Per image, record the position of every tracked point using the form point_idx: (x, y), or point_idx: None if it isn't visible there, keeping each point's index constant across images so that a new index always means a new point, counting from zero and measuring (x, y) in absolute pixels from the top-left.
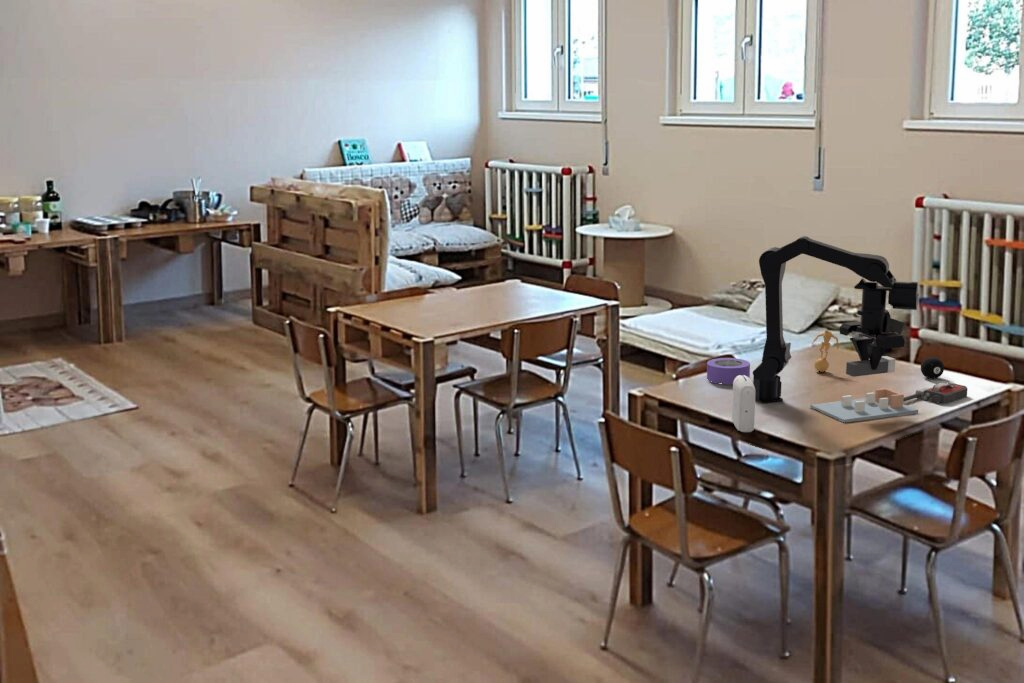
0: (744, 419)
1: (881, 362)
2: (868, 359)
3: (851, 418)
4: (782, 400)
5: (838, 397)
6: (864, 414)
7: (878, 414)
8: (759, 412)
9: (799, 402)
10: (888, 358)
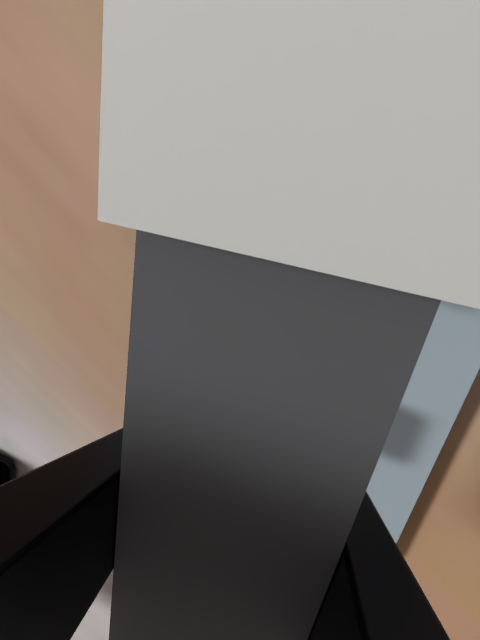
0: None
1: (373, 448)
2: (115, 490)
3: (399, 528)
4: (14, 465)
5: (45, 219)
6: (400, 434)
7: (460, 379)
8: (101, 606)
9: (50, 428)
10: (371, 181)
